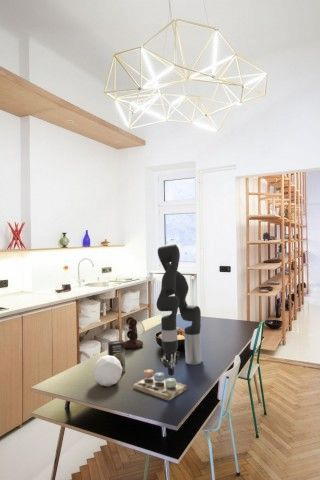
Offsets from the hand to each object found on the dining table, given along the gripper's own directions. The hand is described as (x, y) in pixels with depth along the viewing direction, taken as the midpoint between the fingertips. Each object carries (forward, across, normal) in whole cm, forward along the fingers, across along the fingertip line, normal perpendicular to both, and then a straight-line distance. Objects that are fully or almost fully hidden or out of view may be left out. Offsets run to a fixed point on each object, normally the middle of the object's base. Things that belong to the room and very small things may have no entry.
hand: (171, 375), depth 157 cm
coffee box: (+8, -4, -42) cm, 43 cm away
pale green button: (+5, 0, 0) cm, 5 cm away
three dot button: (+4, 0, -7) cm, 8 cm away
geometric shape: (+8, +11, -32) cm, 35 cm away
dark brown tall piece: (+9, -40, -66) cm, 77 cm away
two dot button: (+4, 0, -14) cm, 15 cm away
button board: (+8, 0, -7) cm, 11 cm away
